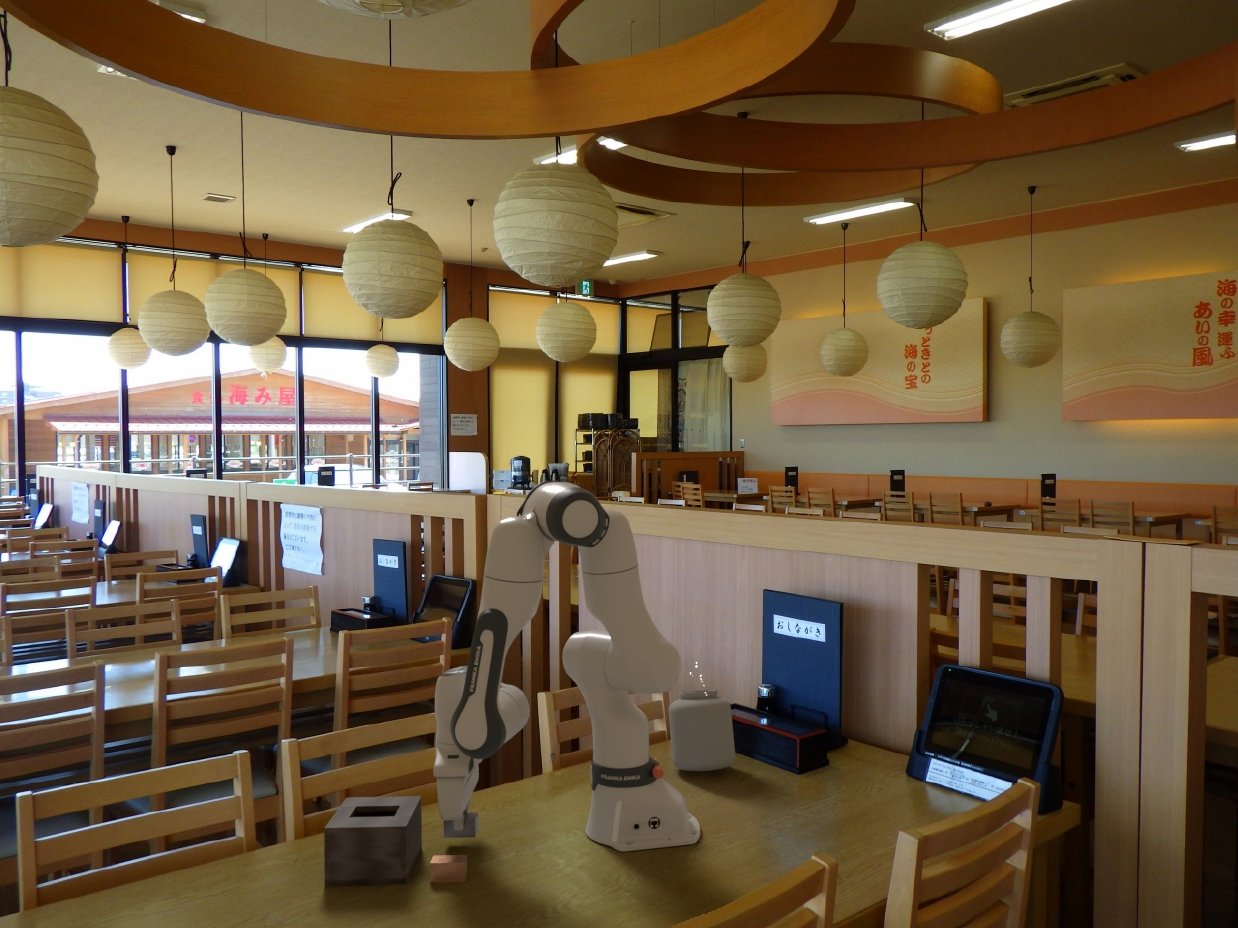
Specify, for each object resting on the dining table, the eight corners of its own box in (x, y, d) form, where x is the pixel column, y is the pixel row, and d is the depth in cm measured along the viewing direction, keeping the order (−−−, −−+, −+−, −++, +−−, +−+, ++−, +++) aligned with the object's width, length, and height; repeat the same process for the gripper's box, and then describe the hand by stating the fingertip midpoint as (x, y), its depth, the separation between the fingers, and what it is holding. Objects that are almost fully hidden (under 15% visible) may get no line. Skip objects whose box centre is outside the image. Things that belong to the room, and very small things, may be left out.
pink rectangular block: (467, 874, 157) (467, 854, 157) (464, 882, 154) (464, 862, 154) (433, 875, 156) (433, 855, 156) (430, 883, 153) (430, 862, 153)
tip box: (421, 848, 167) (421, 795, 167) (406, 883, 153) (406, 826, 153) (346, 850, 166) (346, 797, 166) (324, 885, 152) (324, 827, 152)
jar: (657, 759, 217) (656, 657, 217) (713, 753, 221) (712, 653, 221) (686, 785, 199) (685, 674, 199) (745, 778, 203) (745, 669, 203)
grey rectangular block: (478, 830, 170) (478, 812, 170) (475, 837, 167) (475, 818, 167) (447, 830, 170) (447, 812, 170) (443, 837, 167) (443, 819, 167)
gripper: (454, 734, 179) (455, 802, 179) (430, 771, 158) (432, 847, 159) (485, 733, 179) (486, 801, 179) (466, 770, 158) (467, 847, 158)
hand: (461, 823), depth 169 cm, fingers closed on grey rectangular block, 3 cm apart
